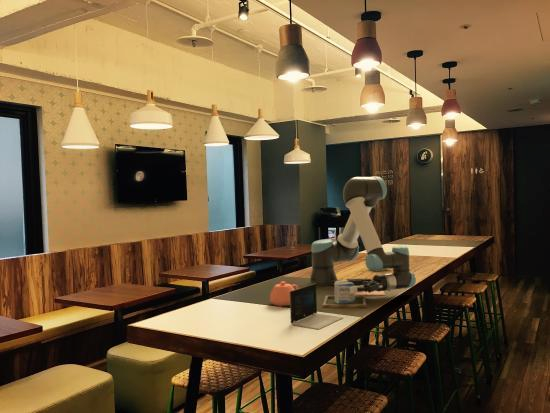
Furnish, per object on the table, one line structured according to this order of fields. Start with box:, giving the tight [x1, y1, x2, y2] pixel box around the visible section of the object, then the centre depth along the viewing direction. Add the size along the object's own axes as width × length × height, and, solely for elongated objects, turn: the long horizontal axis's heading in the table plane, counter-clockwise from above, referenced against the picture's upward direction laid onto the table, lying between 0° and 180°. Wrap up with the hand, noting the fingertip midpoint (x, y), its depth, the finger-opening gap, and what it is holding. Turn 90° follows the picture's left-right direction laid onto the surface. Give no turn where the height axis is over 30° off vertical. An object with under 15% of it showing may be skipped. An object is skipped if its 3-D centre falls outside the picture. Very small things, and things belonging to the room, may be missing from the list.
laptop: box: [289, 283, 344, 330], centre depth 175 cm, size 18×12×13 cm
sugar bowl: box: [269, 281, 299, 308], centre depth 204 cm, size 12×14×10 cm
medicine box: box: [333, 282, 356, 304], centre depth 203 cm, size 8×4×9 cm, turn 105°
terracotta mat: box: [355, 291, 386, 296], centre depth 222 cm, size 14×14×1 cm
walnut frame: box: [322, 295, 367, 308], centre depth 203 cm, size 18×18×1 cm
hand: (342, 287), depth 202 cm, fingers open, 13 cm apart
